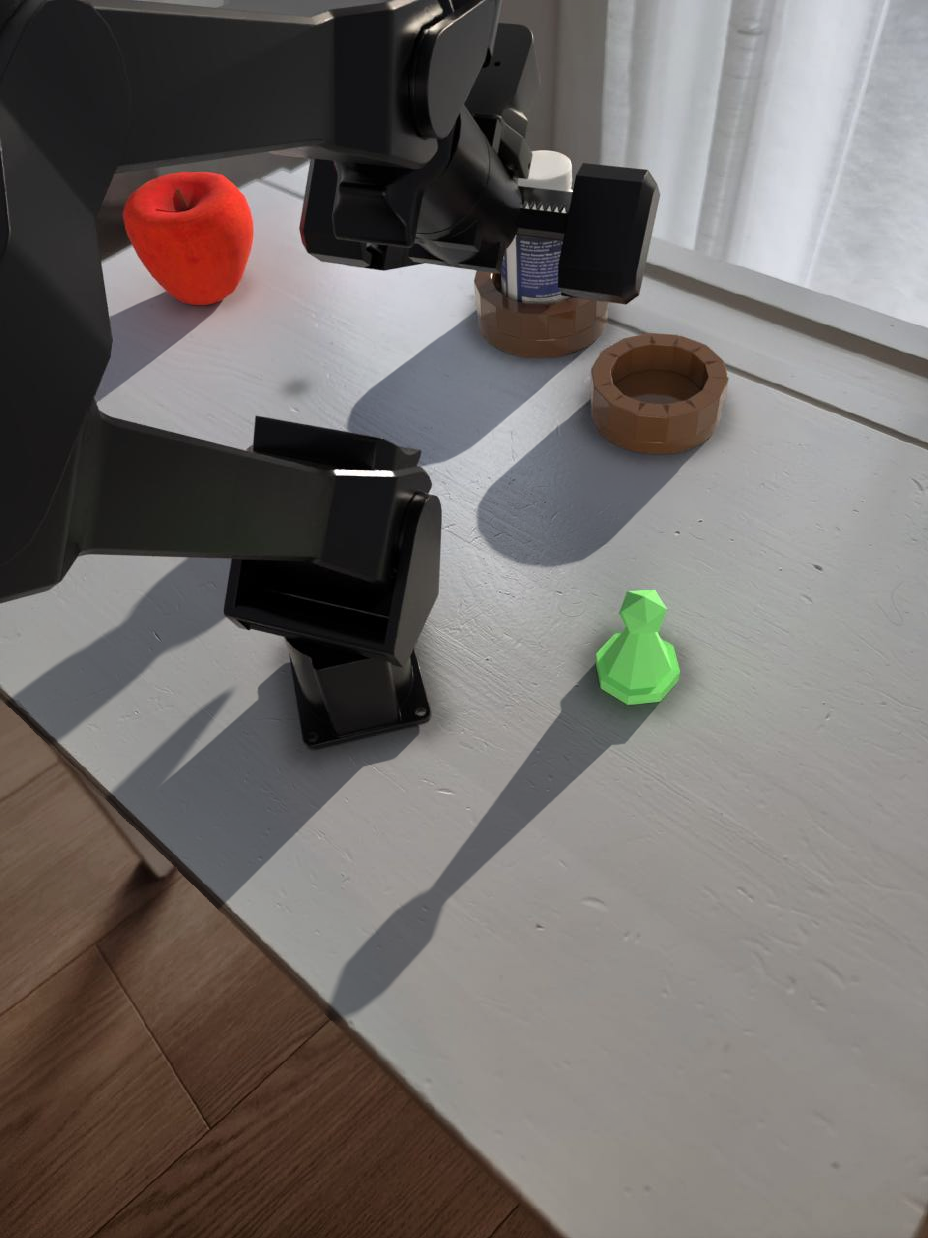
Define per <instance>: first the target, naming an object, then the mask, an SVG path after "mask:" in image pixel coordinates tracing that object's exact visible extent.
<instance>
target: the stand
mask: <svg viewBox="0 0 928 1238" xmlns="http://www.w3.org/2000/svg"><path fill="white" fill-rule="evenodd" d="M473 287H474V288H473V289H474V303H475V307H476V315H477V327H478V329H479V332H480V334H481V336H482V337H483V338H484V339H485V341H486V342H488V343H489V344H490V345H491V346H493V347H494V348H496V349H498V350H499V351H502V352H504V353H507V354H510V355H513V356H517V357H522V358H527V359H528V358H530V359H549V358H551V359H552V358H557V357H563V356H567V355H570V354H573V353H576V352H579V351H581V350H583V349H585V348H587V347H589V346H590V345H592V344H593V343H595V342H596V341H597V340H598V339H599V338H600V337H601V335H602V334H603V332H604V331H605V329H606V327H607V324H608V320H609V319H608V318H609V317H608V316H609V302H601V301H594V300H587V299H580V298H571V299H569V300H567V301H562V302H557V303H552V304H525V303H521V302H518V301H514V300H511V299H508V298H507V297H505V296H504V295H503V294H502V282H501V274H499V273H492V272H485V271H478V270H475V275H474V279H473Z"/></svg>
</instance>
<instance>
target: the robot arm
mask: <svg viewBox="0 0 928 1238" xmlns="http://www.w3.org/2000/svg"><path fill="white" fill-rule="evenodd" d="M502 4H503V0H223V5H220V6H217V7H214V6H213V7H212V6H202V5H201V6H200V5H192V4H179V3H169V2H168V3H167V2H157V1H149V0H148V1H147V0H0V604H4V603H8V602H12V601H15V600H19V599H22V598H27V597H30V596H34V595H37V594H42V593H44V592H48V591H50V590H52V589H53V588H54V587H56V586H57V585H59V584H60V583H62V581H63V580H64V578H65V577H66V576H67V574H68V572H69V571H70V570H71V568H72V566H73V564H74V563H75V562H76V560H77V559H78V558H79V557H83V556H89V555H97V556H98V555H99V556H127V557H128V556H129V557H131V556H132V557H157V558H158V557H161V558H164V557H165V558H195V559H223V560H224V559H225V560H226V559H228V560H230V567H229V573H228V579H227V585H226V593H225V598H224V604H223V616H224V617H225V618H227V619H228V620H229V621H230V622H231V623H232V624H234V626H236V627H237V628H238V629H242V630H246V631H251V630H254V631H258V632H262V633H266V634H269V635H275V636H279V637H282V638H283V639H284V642H285V645H286V648H287V651H288V656H289V663H290V669H291V675H292V681H293V687H294V695H295V701H296V706H297V713H298V719H299V725H300V731H301V738H302V742H303V744H304V747H305V748H306V749H307V750H310V751H316V750H320V749H324V748H329V747H332V746H337V745H341V744H346V743H349V742H350V743H351V742H354V741H358V740H362V739H367V738H371V737H374V736H380V735H384V734H388V733H392V732H396V731H399V730H404V729H409V728H412V727H416V726H422V725H425V724H427V723H429V722H430V721H431V719H432V709H431V705H430V701H429V697H428V694H427V689H426V685H425V682H424V678H423V674H422V670H421V666H420V663H419V659H418V655H417V652H416V647H415V646H416V645H417V643H418V640H419V638H420V636H421V633H422V631H423V629H424V628H425V625H426V623H427V620H428V619H429V616H430V614H431V612H432V609H433V608H434V605H435V603H436V601H437V599H438V596H439V592H440V572H441V570H440V569H441V550H442V549H441V548H442V525H443V523H442V522H443V511H442V510H443V509H442V503H441V500H440V498H439V496H438V495H436V494H430V492H431V490H432V487H433V481H432V479H431V476H430V475H429V473H428V472H427V471H426V470H425V469H424V467H422V466H419V465H418V464H419V462H420V459H421V457H422V450H421V449H419V448H412V447H407V446H401V445H397V444H396V443H394V442H392V441H389V440H387V439H386V438H383V437H379V436H374V435H367V434H362V433H355V432H352V431H351V432H350V431H345V430H340V429H334V428H329V427H328V428H327V427H324V426H323V427H322V426H317V425H311V424H306V423H301V422H295V421H290V420H283V419H279V418H274V417H268V416H262V415H255V418H254V426H253V436H252V437H253V438H252V444H251V445H250V446H249V447H247V448H246V450H245V449H242V448H239V447H238V448H237V447H233V446H229V445H226V444H222V443H219V442H218V443H217V442H213V441H209V440H205V439H202V438H199V437H198V438H197V437H193V436H190V435H186V434H181V433H177V432H173V431H170V430H165V429H162V428H158V427H154V426H150V425H146V424H141V423H138V422H134V421H130V420H126V419H122V418H118V417H114V416H111V415H109V414H107V413H105V412H104V411H102V410H100V407H99V406H98V403H97V401H96V399H95V397H96V394H97V392H98V389H99V387H100V384H101V382H102V380H103V377H104V374H105V372H106V370H107V368H108V366H109V365H108V364H109V362H110V360H111V357H112V350H113V349H112V348H113V341H114V339H113V331H112V326H111V325H112V323H111V317H110V311H109V306H108V298H107V291H106V285H105V277H104V271H103V264H102V259H101V258H102V257H101V251H100V250H101V249H100V243H99V237H98V231H97V230H98V229H97V224H96V221H97V217H98V215H99V212H100V209H101V207H102V205H103V202H104V200H105V198H106V195H107V193H108V191H109V188H110V186H111V183H112V181H113V178H114V176H115V175H117V174H125V173H132V172H139V171H145V170H153V169H160V168H166V167H167V168H168V167H174V166H181V165H186V164H187V165H188V164H193V163H200V162H206V161H207V162H209V161H215V160H220V159H221V160H222V159H228V158H235V157H243V156H249V155H257V154H263V153H267V154H271V155H276V156H284V157H295V158H303V159H310V160H309V166H308V172H307V179H306V184H305V188H304V189H305V190H304V196H303V202H302V208H301V213H300V220H299V227H298V231H299V235H300V240H301V244H302V245H303V248H304V249H305V251H306V253H307V254H309V255H310V256H312V257H314V258H315V259H316V260H318V261H320V262H321V263H328V264H329V263H330V264H336V265H342V266H347V267H353V268H361V269H368V270H375V271H383V272H386V271H390V270H397V269H402V268H407V267H412V266H418V265H424V264H427V265H435V266H441V267H449V268H457V269H463V270H471V271H477V270H478V271H485V272H492V273H499V274H501V269H502V263H503V258H504V253H505V249H507V248H508V247H509V246H510V245H511V243H512V242H513V240H514V238H515V236H516V235H517V236H525V237H533V238H541V239H549V240H557V241H563V243H562V248H561V253H560V258H559V263H558V288H559V290H560V291H561V295H562V296H566V297H573V298H580V299H587V300H594V301H601V302H608V303H611V304H619V305H628V304H629V303H631V302H633V300H635V299H636V298H638V297H639V296H640V293H641V289H642V283H643V279H644V275H645V270H646V264H647V260H648V256H649V250H650V246H651V240H652V237H653V232H654V226H655V222H656V217H657V212H658V207H659V203H660V198H661V192H660V188H659V185H658V183H657V181H656V180H655V178H654V177H653V175H652V174H651V172H650V170H649V169H643V168H634V167H626V166H625V167H624V166H616V165H606V164H598V163H597V164H596V163H589V162H588V163H586V162H582V164H581V165H580V167H579V169H578V171H577V173H576V174H575V178H574V184H573V188H572V190H573V192H568V191H559V190H550V189H542V188H533V187H524V186H517V185H518V180H519V178H521V179H528V176H529V171H530V166H531V161H532V156H533V154H532V149H530V147H529V145H528V143H527V141H526V139H527V133H528V129H529V125H530V120H531V118H532V114H533V111H534V108H535V105H536V102H537V98H539V96H540V93H541V89H542V82H541V76H540V70H539V63H538V58H537V57H538V56H537V52H536V45H535V39H534V34H533V32H532V30H531V29H530V28H529V27H528V26H526V25H524V24H520V23H519V24H518V23H507V22H499V21H500V15H501V9H502ZM527 203H528V207H529V209H527V208H525V207H526V205H527ZM534 205H536V209H537V210H536V209H532V208H533V207H534ZM542 205H543V210H540V208H541V206H542ZM549 206H550V209H551V211H547V209H548V208H549ZM556 207H558V212H554V211H555V209H556ZM564 208H565V212H566V213H561V212H562V211H563V209H564ZM419 713H424V714H423V715H419ZM312 738H316V739H315V740H313V741H311V739H312Z"/></svg>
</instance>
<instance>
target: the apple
mask: <svg viewBox="0 0 928 1238" xmlns="http://www.w3.org/2000/svg"><path fill="white" fill-rule="evenodd" d="M122 218H123V224H124V228H125V233H126V235H127V237H128V239H129V241H130V244H131V245H132V247H133V249H134V252H135V253H136V255H137V257H138V259H139V260H140V262H141V263H142V264H143V266H144V267H145V269H146V271H147V272H148V273H149V274H150V276H151V277H152V279H154V280H155V282H157V283H158V284H159V286H161V287H162V289H164V291H166V292H167V294H169V295H170V296H172V297H173V298H175V299H176V300H177V301H179V302H180V303H183V304H188V305H192V306H193V305H194V306H195V305H196V306H206V305H213V304H216V303H219V302H220V301H222V300H224V299H225V298H227V297H228V296H230V295H232V294H233V293H234V292H235V290H236V289H237V287H239V284H240V283H241V281H242V279H243V275H244V274H245V270H246V267H247V264H248V262H249V258H250V255H251V252H252V247H253V242H254V220H253V215H252V210H251V208H250V205H249V203H248V201H247V197H246V196H245V195H244V194H243V192H242V191H241V190H240V189H238V187H237V186H236V185H235V184H234V183H233V182H232V181H231V180H229V179H228V178H227V177H226V176H224V175H223V174H220V173H215V172H208V171H195V172H194V171H193V172H192V171H190V172H189V171H181V172H174V173H169V174H164V175H160V176H158V177H156V178H153V179H150V180H148V181H146V182H145V183H144V184H142V185H140V187H139V188H137V189H136V190H134V191H133V192H132V193H130V195H129V197H128V199H127V201H126V203H124V207H123V211H122Z"/></svg>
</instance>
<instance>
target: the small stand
mask: <svg viewBox="0 0 928 1238" xmlns="http://www.w3.org/2000/svg"><path fill="white" fill-rule="evenodd" d="M729 380H730V379H729V375H728V372H727V368H726V364H725V361H724V359H723V358H722V357H720V355H719V354H717V353H716V352H715V351H714V350H713V349H712V348H710V347H709V346H708V345H707V344H704V343H702V342H699V341H697V340H694V339H692V338H688V337H686V336H683V335H680V334H672V333H671V334H669V333H656V332H648V333H644V334H638V335H633V336H629V337H623V338H622V339H620V340H617V342H615V343H613V344H612V345H610V346H608V347H606V348H605V349H603V350H602V351H600V353H599V355H598V357H596V360H595V362H593V365H592V366H591V369H590V386H589V387H590V388H589V394H590V396H589V397H590V417H591V420H592V423H593V426H594V427H595V428H596V430H597V431H598V432H599V434H601V436H602V437H604V439H605V440H607V441H609V442H611V443H612V444H613V445H615V446H618V447H620V448H622V449H624V450H627V451H630V452H634V453H640V454H645V455H670V454H677V453H682V452H685V451H688V450H692V449H694V448H695V447H698V446H699V445H701V444H703V443H704V442H706V441H707V440H709V438H710V437H712V435H714V434H715V432H716V430H717V428H718V427H719V425H720V421H721V419H722V418H721V417H722V412H723V408H724V406H725V403H726V396H727V390H728V385H729Z"/></svg>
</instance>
